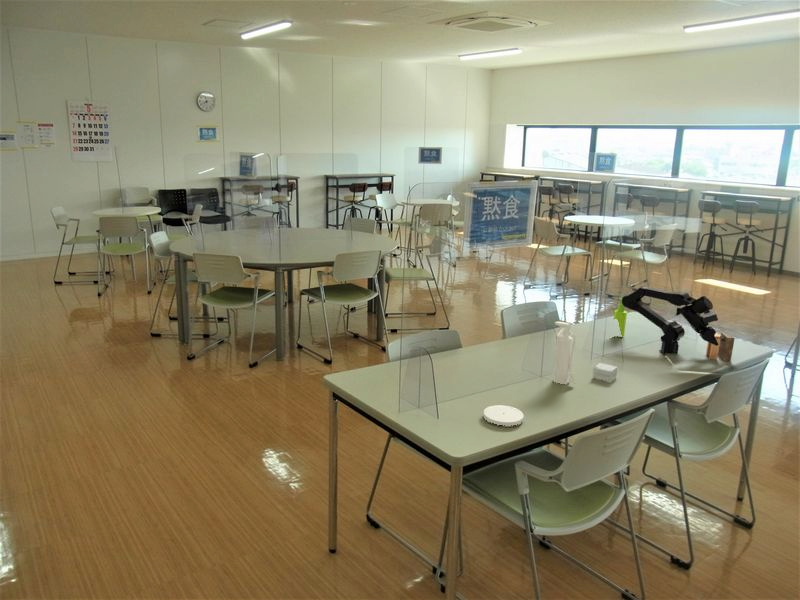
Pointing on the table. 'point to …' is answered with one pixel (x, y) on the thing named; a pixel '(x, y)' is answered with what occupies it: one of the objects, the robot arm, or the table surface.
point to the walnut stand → (726, 346)
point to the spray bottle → (564, 354)
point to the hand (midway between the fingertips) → (714, 341)
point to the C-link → (713, 348)
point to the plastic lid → (503, 415)
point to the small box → (605, 372)
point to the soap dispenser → (621, 316)
